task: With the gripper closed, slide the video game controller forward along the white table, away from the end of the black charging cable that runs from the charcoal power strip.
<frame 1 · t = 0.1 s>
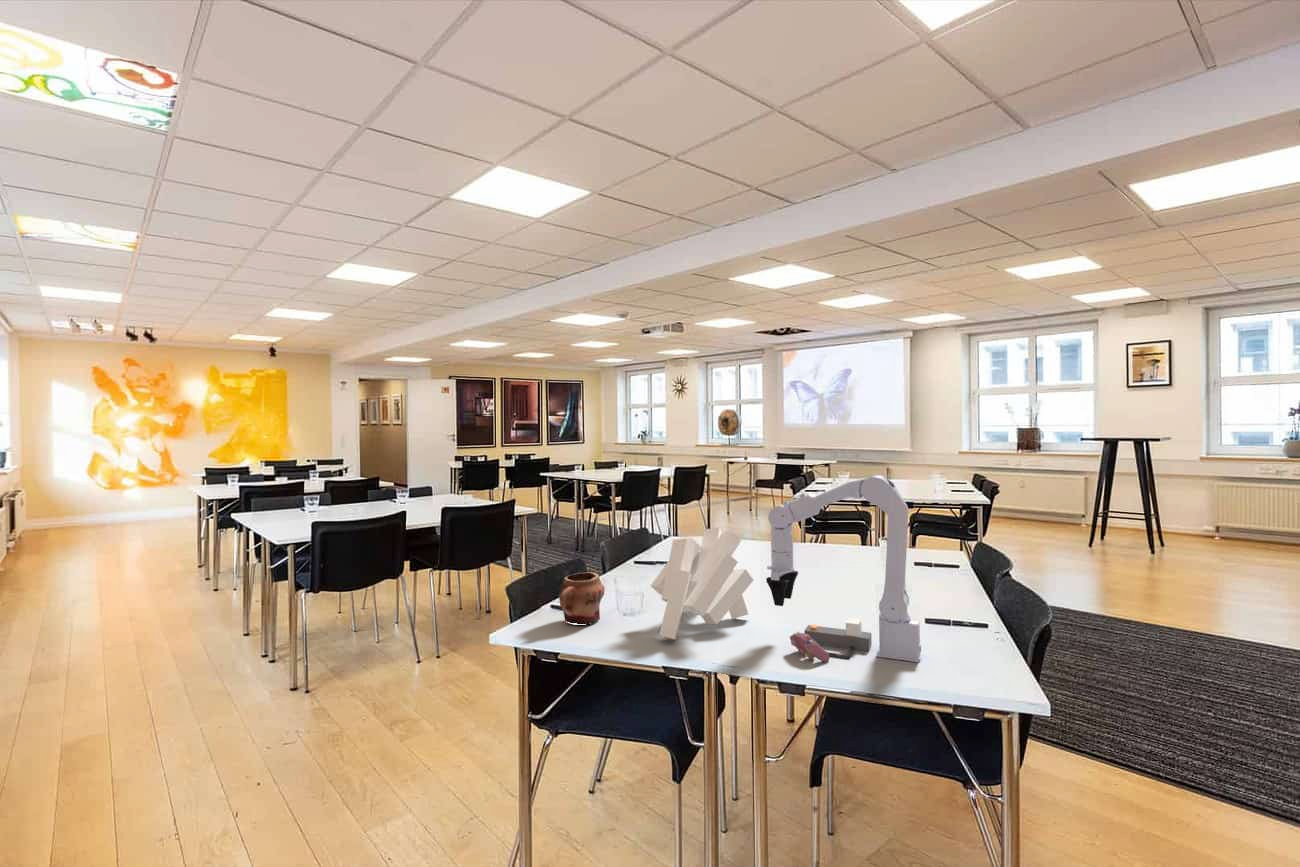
hand: (783, 601, 163), 10 cm above the table, tool pointing down, fingers open, 7 cm apart
pile of blocks: (702, 625, 177), on the table
decorative planter: (580, 624, 180), on the table
video game controller: (808, 657, 151), on the table
power strip: (837, 643, 159), on the table
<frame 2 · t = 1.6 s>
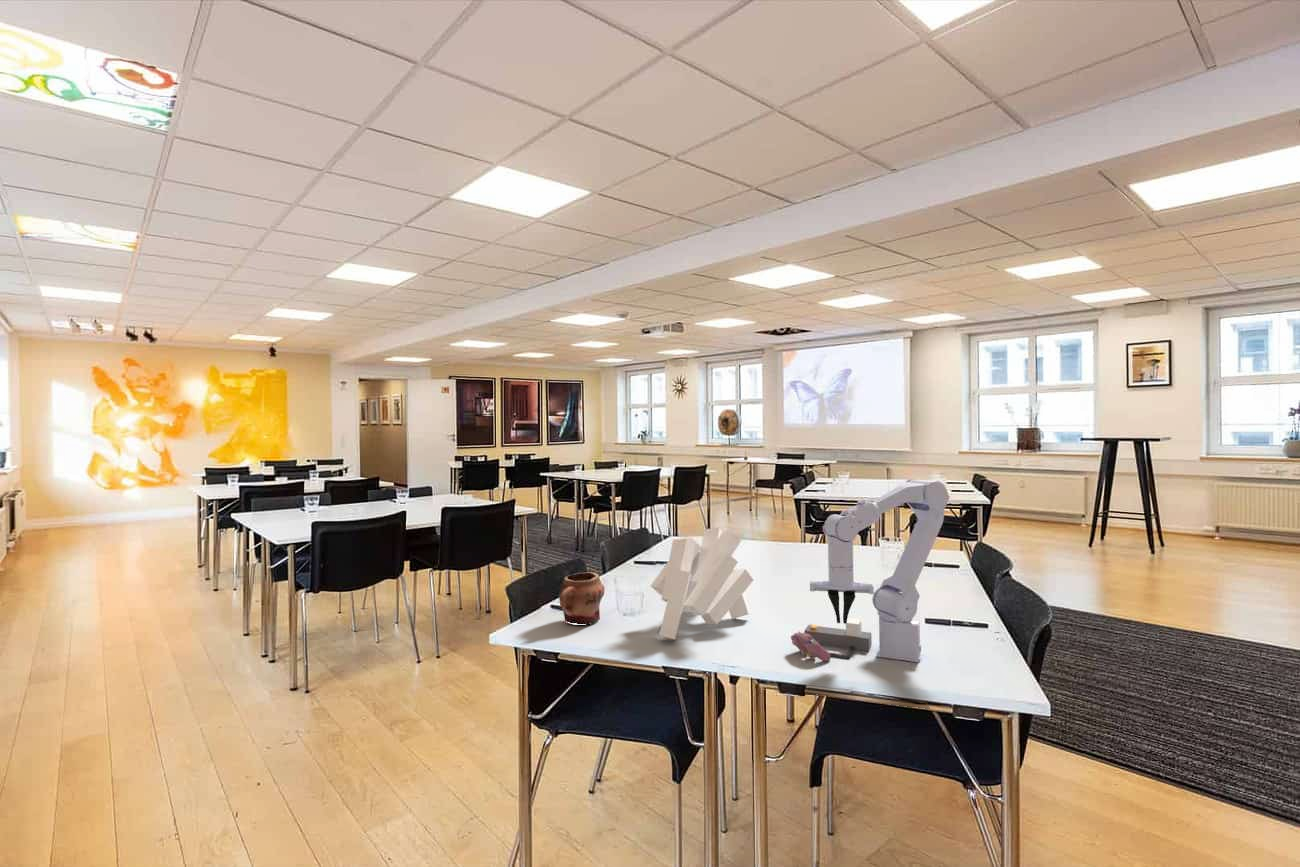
hand: (841, 622, 147), 9 cm above the table, tool pointing down, fingers closed
nothing on the table moved.
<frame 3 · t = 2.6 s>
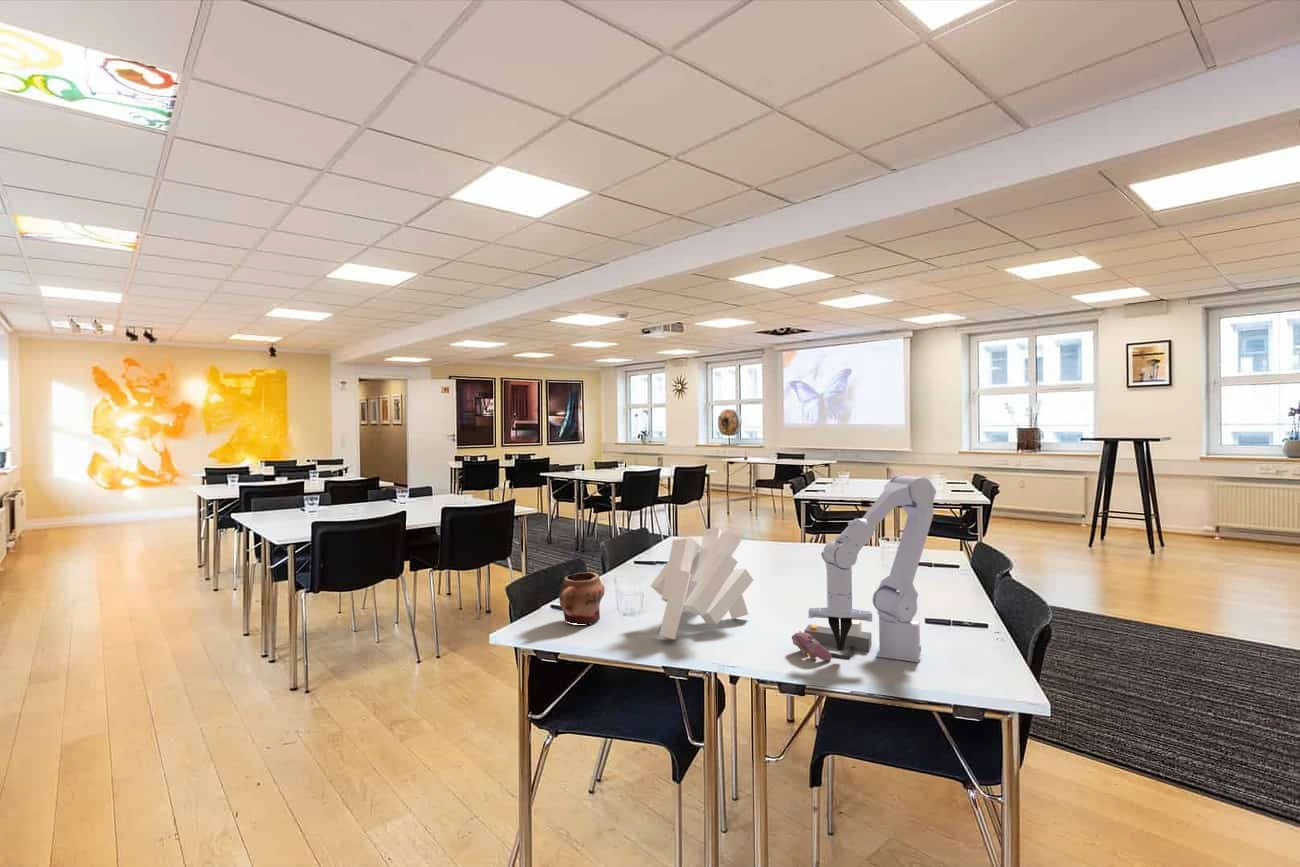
hand: (840, 649, 147), 3 cm above the table, tool pointing down, fingers closed
nothing on the table moved.
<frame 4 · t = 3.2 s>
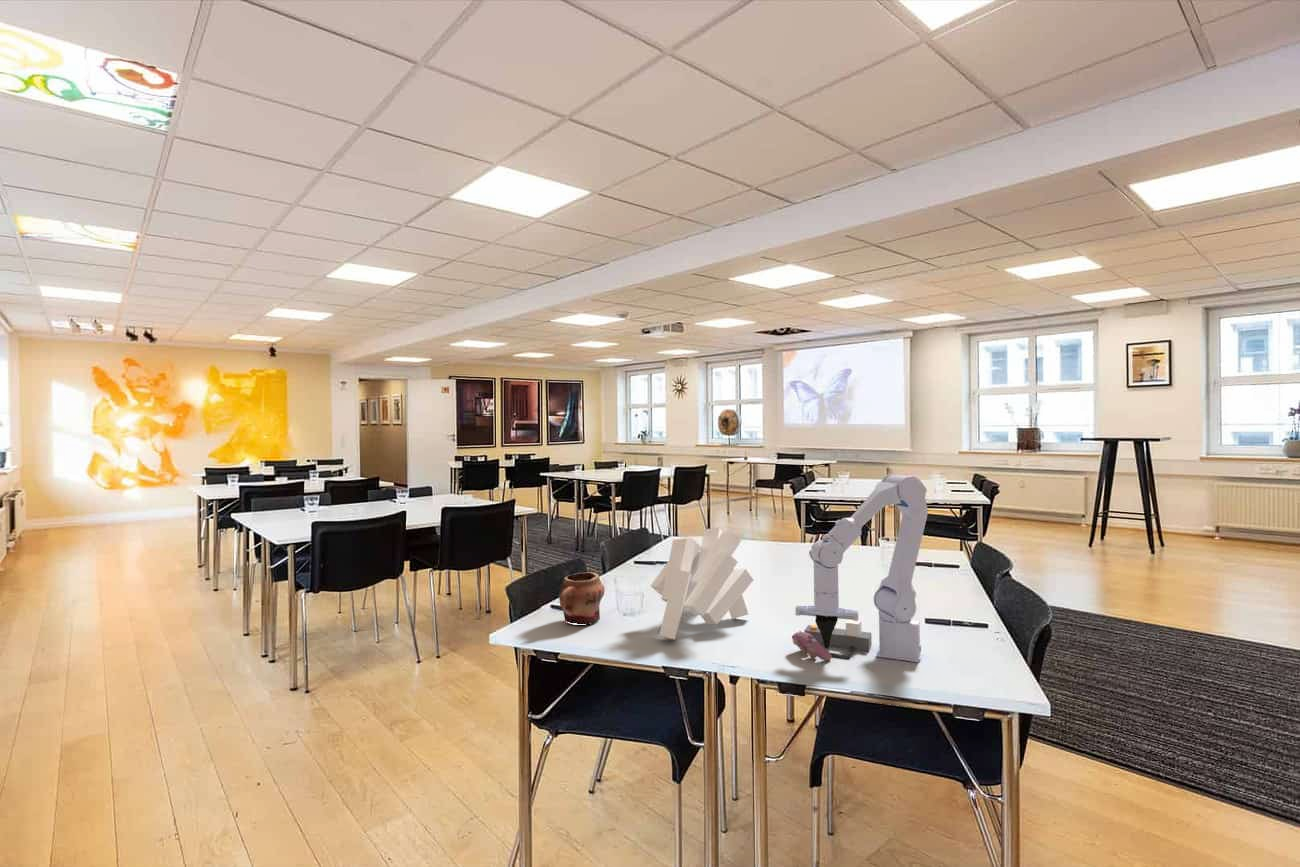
hand: (827, 647, 149), 3 cm above the table, tool pointing down, fingers closed
video game controller: (810, 657, 151), on the table, touching gripper
everything else where it was.
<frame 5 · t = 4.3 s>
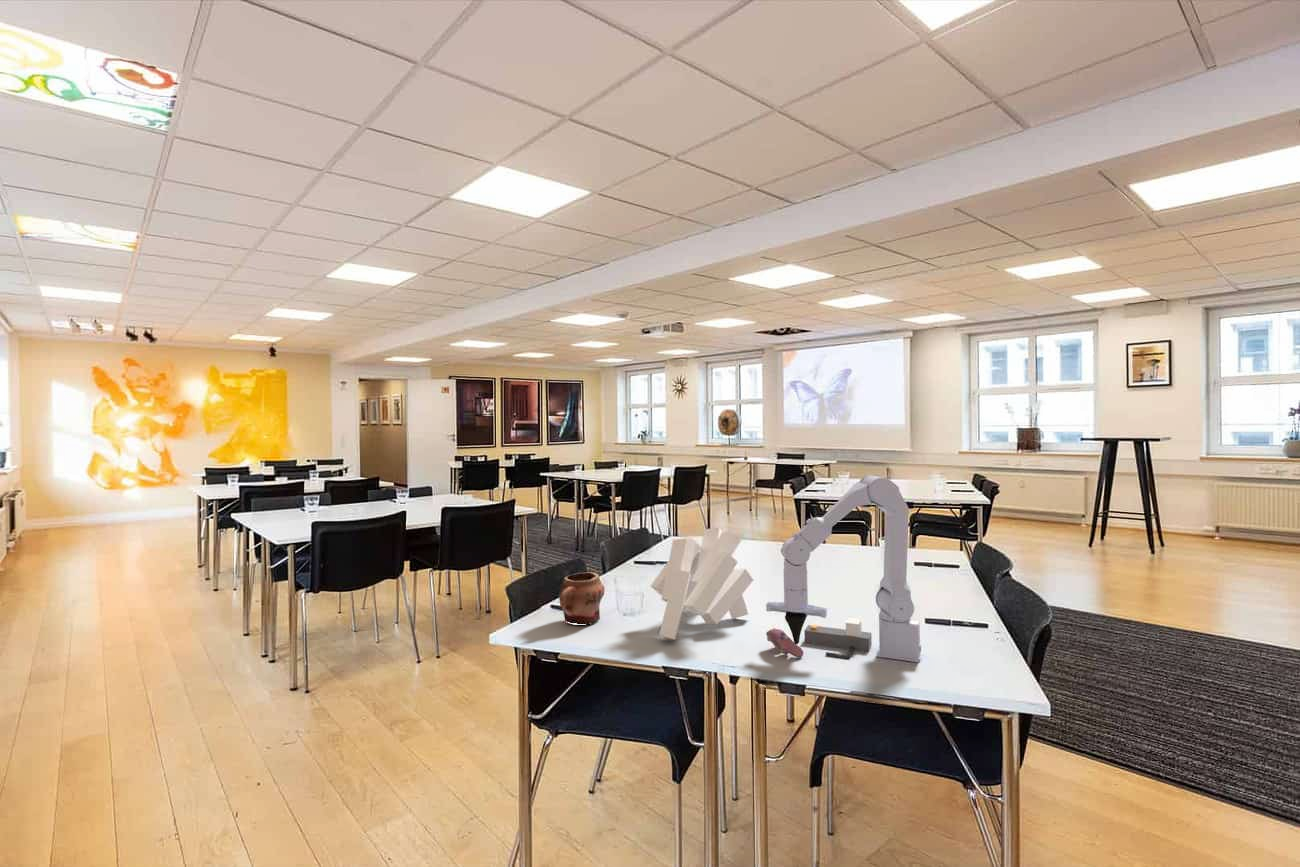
hand: (796, 643, 152), 3 cm above the table, tool pointing down, fingers closed, pressing on video game controller
video game controller: (783, 653, 154), on the table, touching gripper
everything else where it was.
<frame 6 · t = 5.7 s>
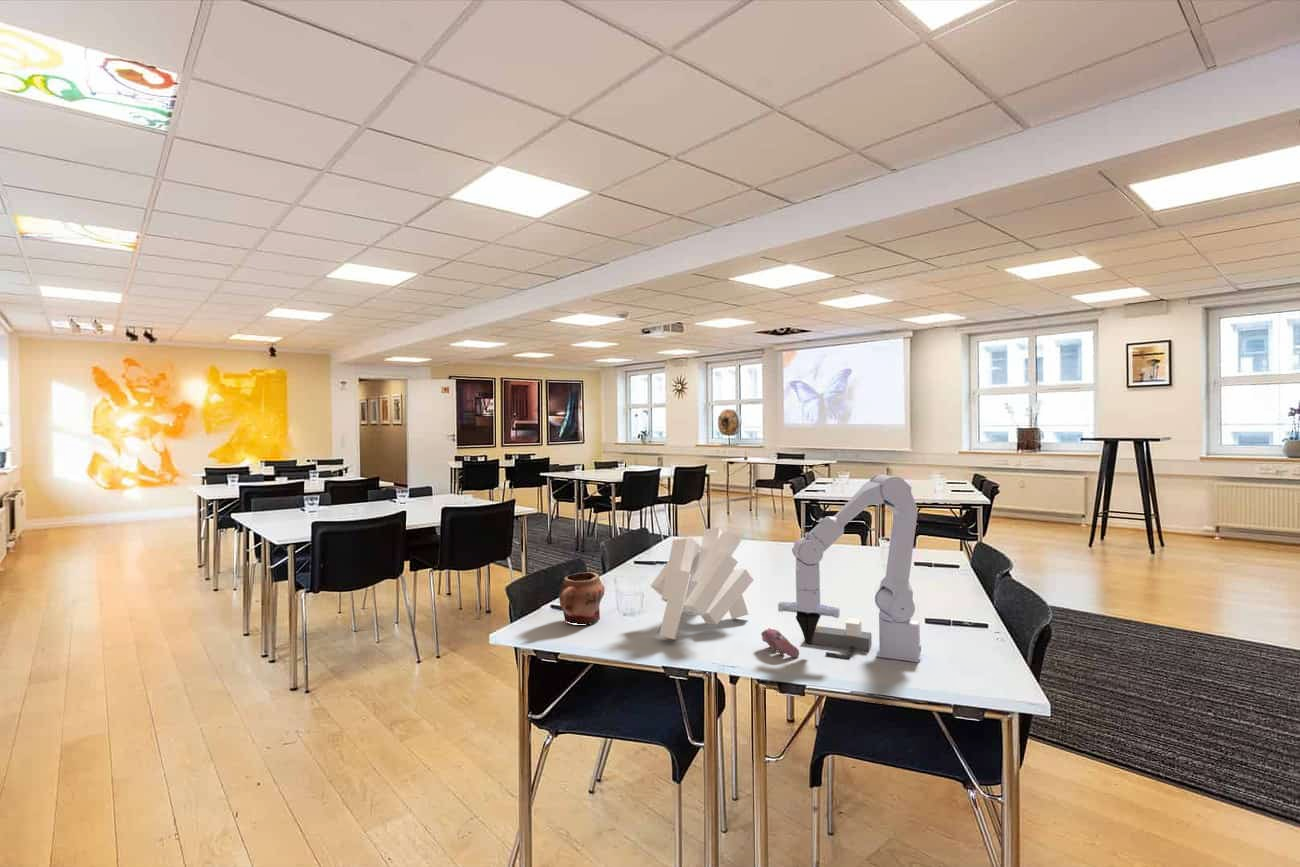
hand: (809, 643, 151), 3 cm above the table, tool pointing down, fingers closed
video game controller: (779, 653, 154), on the table
everything else where it was.
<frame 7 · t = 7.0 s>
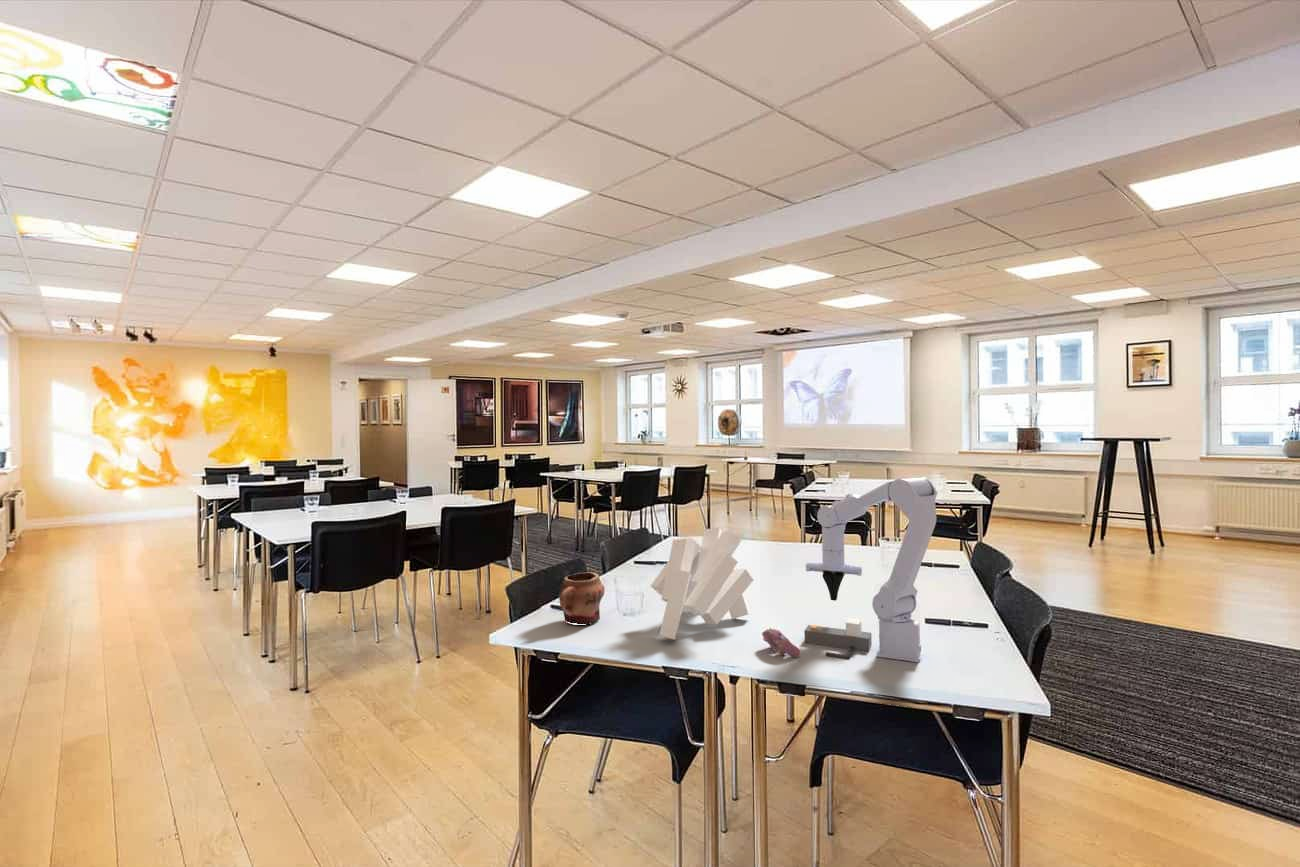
hand: (833, 599, 167), 9 cm above the table, tool pointing down, fingers closed
nothing on the table moved.
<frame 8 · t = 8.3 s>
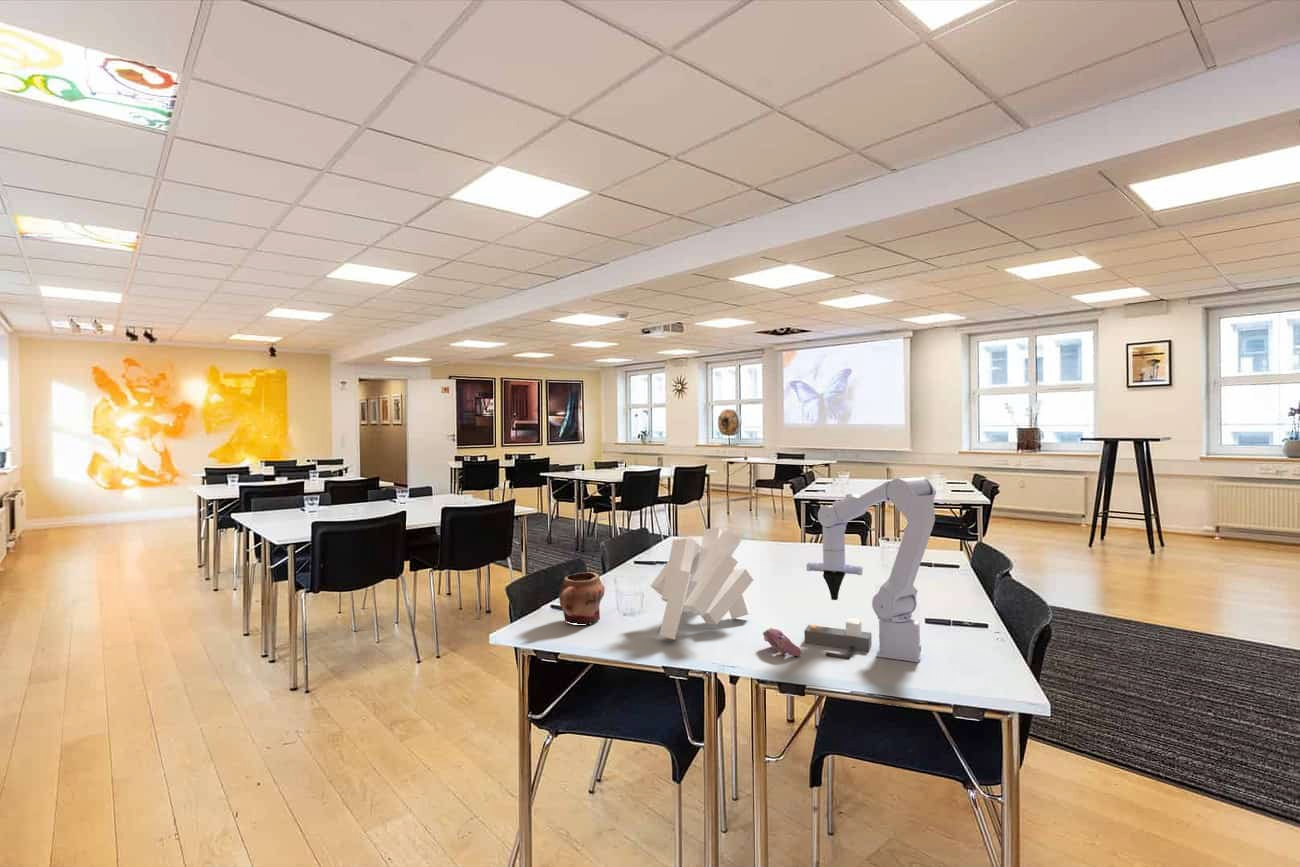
hand: (834, 599, 167), 9 cm above the table, tool pointing down, fingers closed
nothing on the table moved.
at the end: video game controller moved 6.8 cm from its start; video game controller inside the target area (1.3 cm from its centre), on the table; video game controller tilted 0° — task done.
